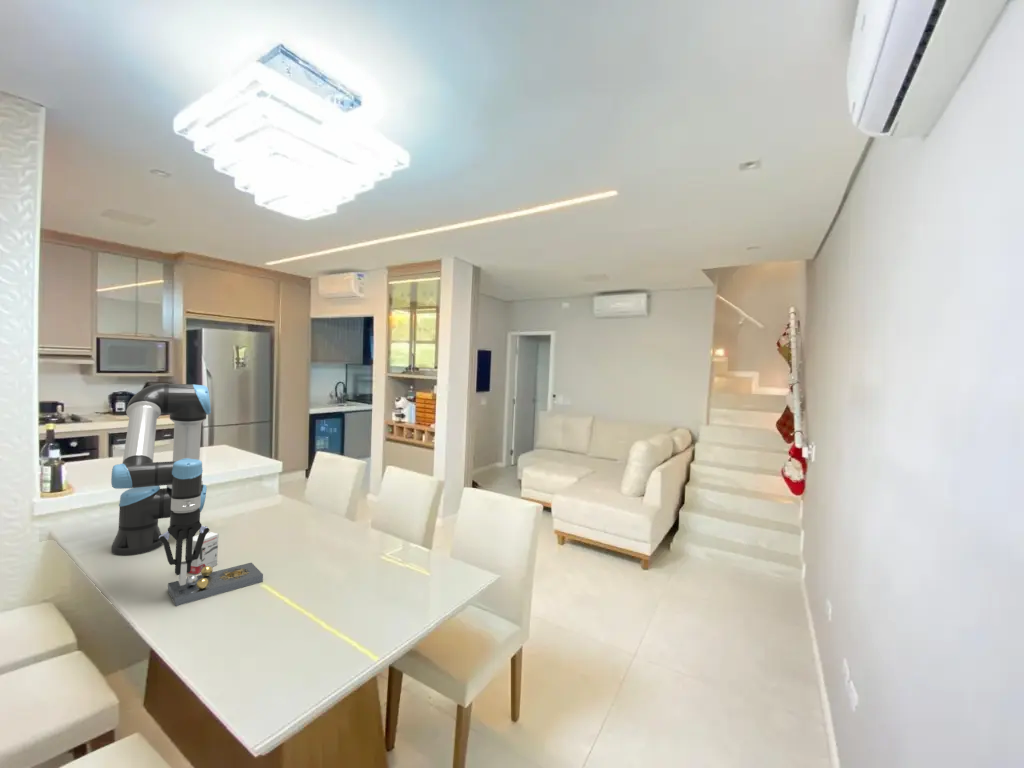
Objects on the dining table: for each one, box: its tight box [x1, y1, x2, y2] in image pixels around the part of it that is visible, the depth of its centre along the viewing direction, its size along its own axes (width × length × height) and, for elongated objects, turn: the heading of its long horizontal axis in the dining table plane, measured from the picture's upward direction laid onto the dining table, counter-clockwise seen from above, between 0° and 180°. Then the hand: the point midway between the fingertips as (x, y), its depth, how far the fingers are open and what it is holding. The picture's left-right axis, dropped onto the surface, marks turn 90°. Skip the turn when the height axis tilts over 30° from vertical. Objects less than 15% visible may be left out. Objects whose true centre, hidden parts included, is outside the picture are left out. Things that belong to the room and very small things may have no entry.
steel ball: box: [186, 574, 198, 586], centre depth 139 cm, size 3×3×3 cm
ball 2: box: [196, 578, 209, 589], centre depth 138 cm, size 3×3×3 cm
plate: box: [167, 561, 264, 607], centre depth 145 cm, size 24×12×2 cm, turn 137°
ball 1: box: [200, 566, 214, 576], centre depth 146 cm, size 3×3×3 cm
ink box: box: [187, 531, 219, 575], centre depth 155 cm, size 9×5×12 cm, turn 168°
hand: (182, 583), depth 137 cm, fingers closed
